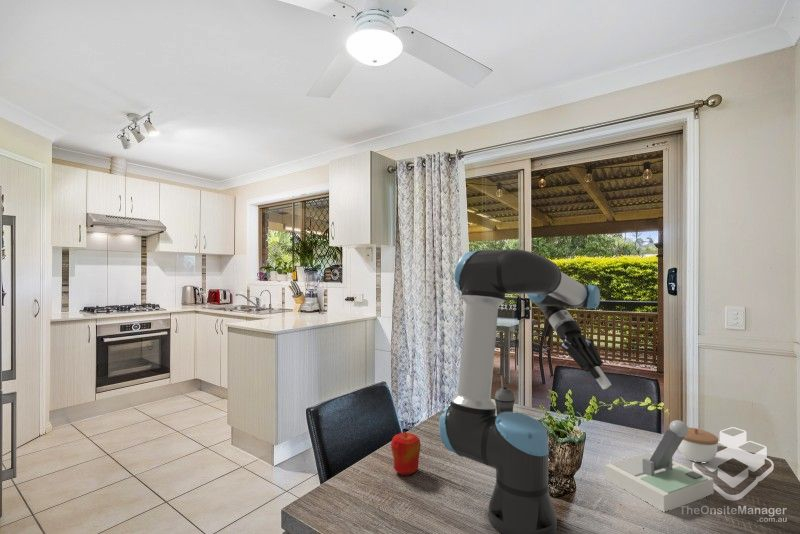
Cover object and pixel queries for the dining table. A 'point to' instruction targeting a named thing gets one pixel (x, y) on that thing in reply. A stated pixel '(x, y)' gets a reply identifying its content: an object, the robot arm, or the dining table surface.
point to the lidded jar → (699, 445)
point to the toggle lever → (669, 444)
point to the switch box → (659, 481)
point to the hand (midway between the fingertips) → (607, 386)
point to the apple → (405, 453)
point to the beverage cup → (504, 399)
